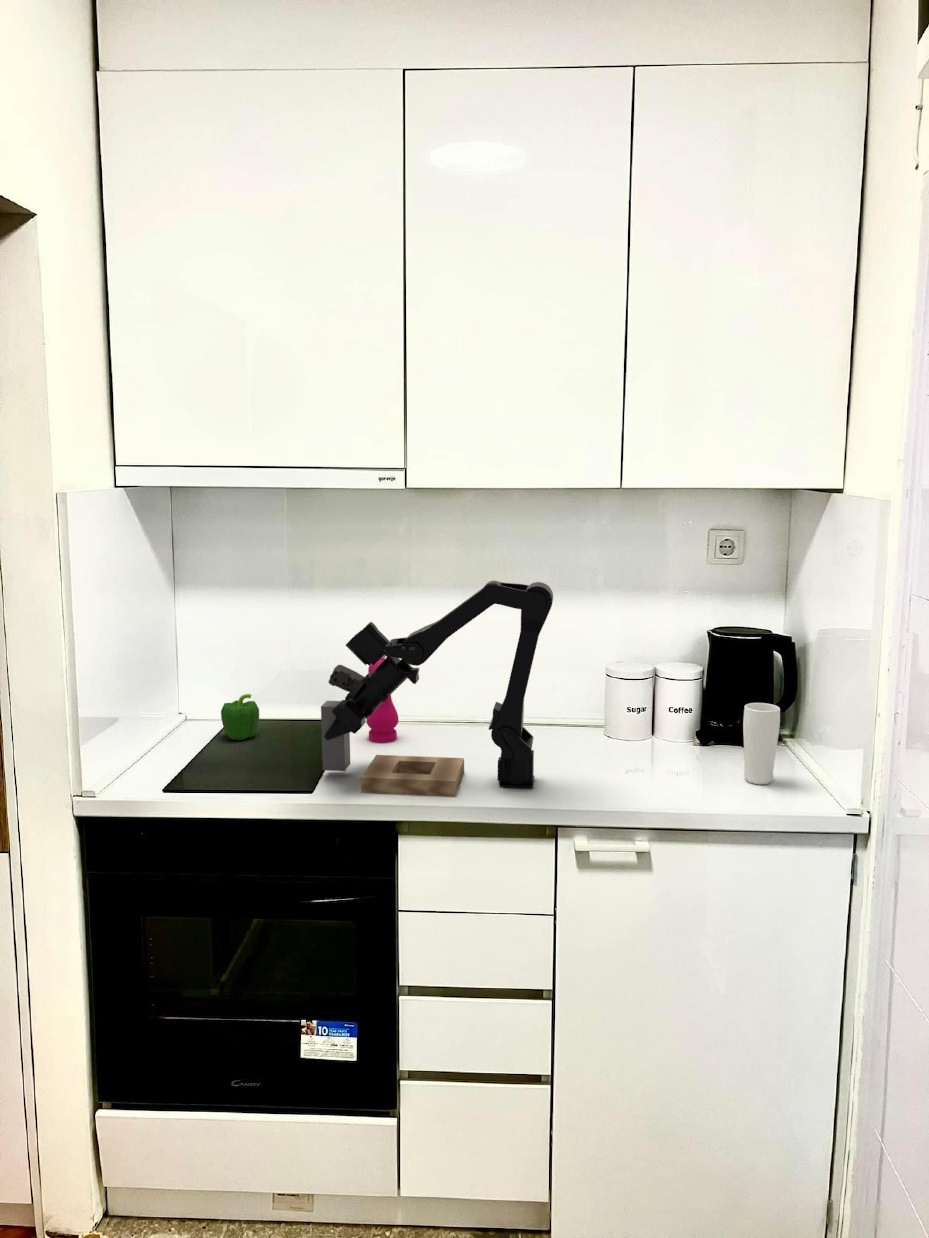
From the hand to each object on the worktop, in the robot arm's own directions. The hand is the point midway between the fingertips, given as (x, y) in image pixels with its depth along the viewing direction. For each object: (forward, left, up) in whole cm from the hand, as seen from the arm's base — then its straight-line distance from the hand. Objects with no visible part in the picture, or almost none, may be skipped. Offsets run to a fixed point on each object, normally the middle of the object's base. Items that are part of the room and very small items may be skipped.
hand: (328, 734), depth 192 cm
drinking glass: (-84, -7, -9) cm, 85 cm away
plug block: (-1, 0, -7) cm, 7 cm away
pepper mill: (-5, -26, -9) cm, 28 cm away
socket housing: (-17, +2, -8) cm, 19 cm away
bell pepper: (+27, -23, -9) cm, 36 cm away
